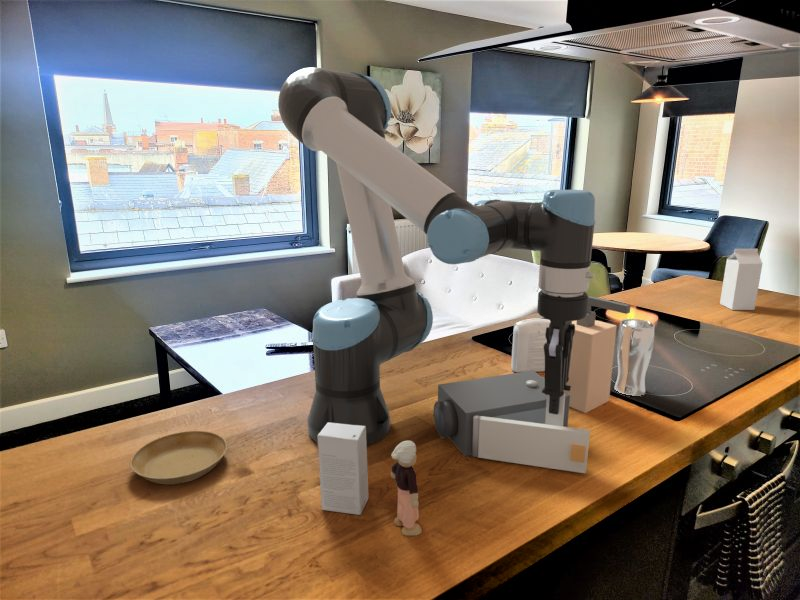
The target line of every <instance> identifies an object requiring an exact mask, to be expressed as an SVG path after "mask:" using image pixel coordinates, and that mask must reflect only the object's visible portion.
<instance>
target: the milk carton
mask: <svg viewBox="0 0 800 600" xmlns="http://www.w3.org/2000/svg"><path fill="white" fill-rule="evenodd" d="M762 270H763V261H762V258H761V257H760V255H759V249H758V248H734V251H733V253H732V254H731V255H729V256H728V257H727V258H726V263H725V268H724V273H723V282H722V288H721V293H720V300H719V304H720V305H722V306H724V307H725V308H728V309H729V310H731V311H755V309H756V303H757V298H758V292H759V286H760V281H761V274H762Z"/></svg>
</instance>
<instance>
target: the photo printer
mask: <svg viewBox="0 0 800 600" xmlns="http://www.w3.org/2000/svg"><path fill="white" fill-rule="evenodd" d="M550 323H551V322H550V320H549V319H548V318H539V317H537V318H535V317H534V318H527V319H523V320H519V321H517V322H515V323H514V325H513V332H512V334H513V336H512V346H511V348H512V349H511V362H510V363H511V364H510V365H511V366H510V368H511V371H512V372H513V373H514V372H515V373H519V372H526V371H535V372H536V373H538V372H539V373H540V372H545V354H544V344H545V343H547V339H546V337H545V335H546V328H547V327H549V324H550Z"/></svg>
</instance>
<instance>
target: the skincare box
mask: <svg viewBox="0 0 800 600" xmlns="http://www.w3.org/2000/svg"><path fill="white" fill-rule="evenodd" d="M317 439H318V442H317V455H318V467H319V470H318V471H319V485H320V503H321V511H327V512H336V513H344V514H350V515H357V516H358V515H359V516H361V515H362V513H363V511H364V508H365V506H366V504H367V502H368V500H369V482H368V481H369V480H368V478H369V477H368V475H369V473H368V472H369V471H368V451H367V449H368V448H367V447H368V445H367V444H366V426H359V425H349V424H339V423H329V422H328V423H327V424H326V425H325V427H324V428H323V429H322V430H321V432H320V433H319V434H318V435H317Z"/></svg>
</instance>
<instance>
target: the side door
mask: <svg viewBox="0 0 800 600" xmlns="http://www.w3.org/2000/svg"><path fill="white" fill-rule="evenodd" d="M590 430H591V429H585V428H579V427H570V426H567V427H564V426H556V425H548V424H540V423H532V422H524V421H517V420H509V419H501V418H493V417H485V416H474V417H473V442H472V455H471V456H472V457H474V458H479V459H484V460H492V461H498V462H499V461H500V462H506V463H512V464H513V463H514V464H519V465H524V466H525V465H526V466H533V467H541V468H546V469H553V470H554V469H555V470H560V471H561V470H562V471H565V472H574V473H580V474H581V473H582V474H587V468H588V467H587V466H588V456H589V455H588V454H589V447H590V445H589V444H590V434H591V431H590Z"/></svg>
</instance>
